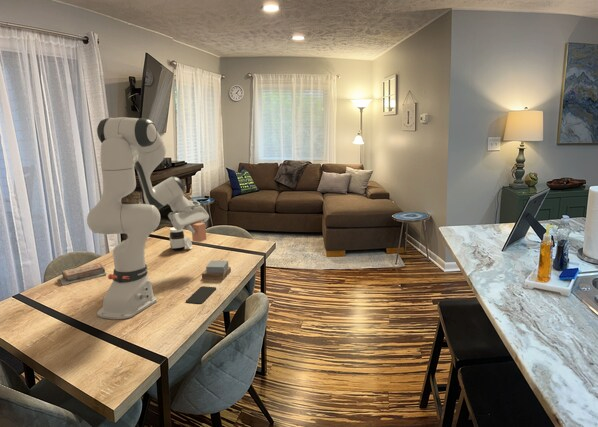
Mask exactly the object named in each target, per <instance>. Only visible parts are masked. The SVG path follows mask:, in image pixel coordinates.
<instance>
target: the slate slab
mask: <svg viewBox="0 0 598 427" xmlns="http://www.w3.org/2000/svg"><path fill="white" fill-rule="evenodd" d="M228 267H230V266H229V260H210V261H209V263H208V264H207V265H206V267H205V270H206V272H207V273H225V271H226V270H227V268H228Z"/></svg>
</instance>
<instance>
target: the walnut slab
mask: <svg viewBox="0 0 598 427" xmlns="http://www.w3.org/2000/svg"><path fill="white" fill-rule="evenodd" d="M231 268H232V267H231V266H229V267H228V268H227V270H226V271H225V273H207V272H206V269H205V270H204V271H203V272H202V273H201V279H203V280H214V281H216V280H217V281H219V280H220V281H224V280H225V279H226V278H227V275H228V276H229V275H230V273H231V271H232V270H231Z"/></svg>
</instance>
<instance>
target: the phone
mask: <svg viewBox="0 0 598 427" xmlns="http://www.w3.org/2000/svg"><path fill="white" fill-rule="evenodd" d="M216 291H217V287H216V286H204V285H203V286H200V287H198V289H197V290H196V291H194V292H193V293H192V294H191V295H190V296H189V297H188V298H187V299H186V300H185V303H187V304H193V305H202V304H203V303H205V302H206V301H207V300H208V298H210V296H212V295H213V293H215V292H216Z"/></svg>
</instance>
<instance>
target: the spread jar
mask: <svg viewBox="0 0 598 427" xmlns="http://www.w3.org/2000/svg"><path fill="white" fill-rule="evenodd" d="M183 230H184V229H181V230H176V229H175V228H174V226H173V227H170V228H169V245H170V249H171V250H172V251H177V252H178V251H182V250H184V249H185V248H186V249H187V250H191V249H193V243H192V240H191V238H190V237H188V236H187V237H185V233H184V231H183Z"/></svg>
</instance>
